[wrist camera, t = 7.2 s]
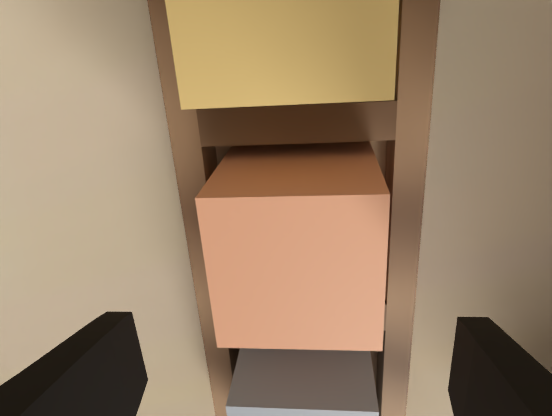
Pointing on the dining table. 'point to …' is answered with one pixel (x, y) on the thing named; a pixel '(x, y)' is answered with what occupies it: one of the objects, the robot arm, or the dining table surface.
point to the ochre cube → (283, 51)
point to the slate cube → (302, 383)
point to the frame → (320, 129)
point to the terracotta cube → (296, 246)
